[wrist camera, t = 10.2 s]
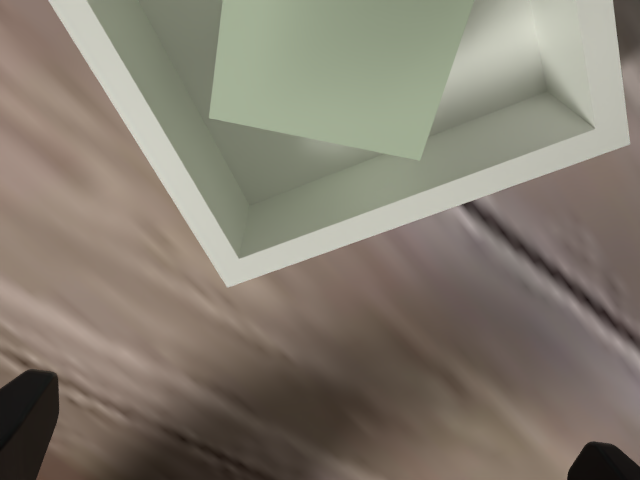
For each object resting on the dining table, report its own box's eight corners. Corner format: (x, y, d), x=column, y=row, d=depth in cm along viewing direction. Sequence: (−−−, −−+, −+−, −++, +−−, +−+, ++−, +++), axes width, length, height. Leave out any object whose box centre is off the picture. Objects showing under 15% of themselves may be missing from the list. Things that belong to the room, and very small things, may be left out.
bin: (241, 222, 20) (227, 287, 17) (34, -144, 14) (-51, -160, 11) (569, 99, 18) (629, 144, 15) (482, -395, 12) (550, -512, 9)
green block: (392, 97, 17) (419, 160, 13) (234, 63, 17) (208, 118, 12) (444, -83, 15) (500, -78, 10) (260, -131, 14) (240, -147, 10)
